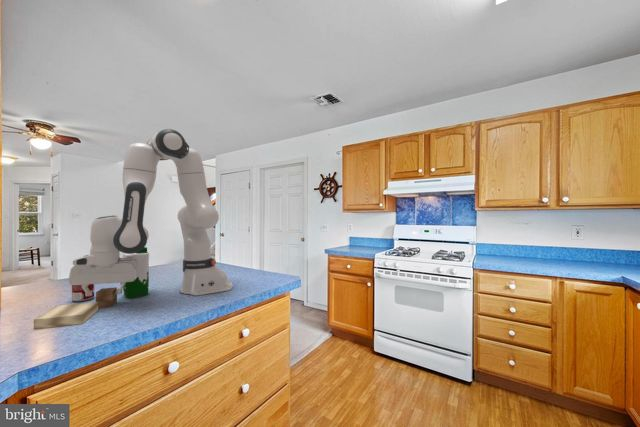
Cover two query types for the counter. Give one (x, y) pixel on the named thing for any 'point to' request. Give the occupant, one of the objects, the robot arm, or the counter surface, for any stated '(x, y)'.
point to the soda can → (81, 293)
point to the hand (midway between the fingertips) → (104, 294)
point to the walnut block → (106, 297)
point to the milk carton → (138, 275)
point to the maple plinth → (66, 315)
